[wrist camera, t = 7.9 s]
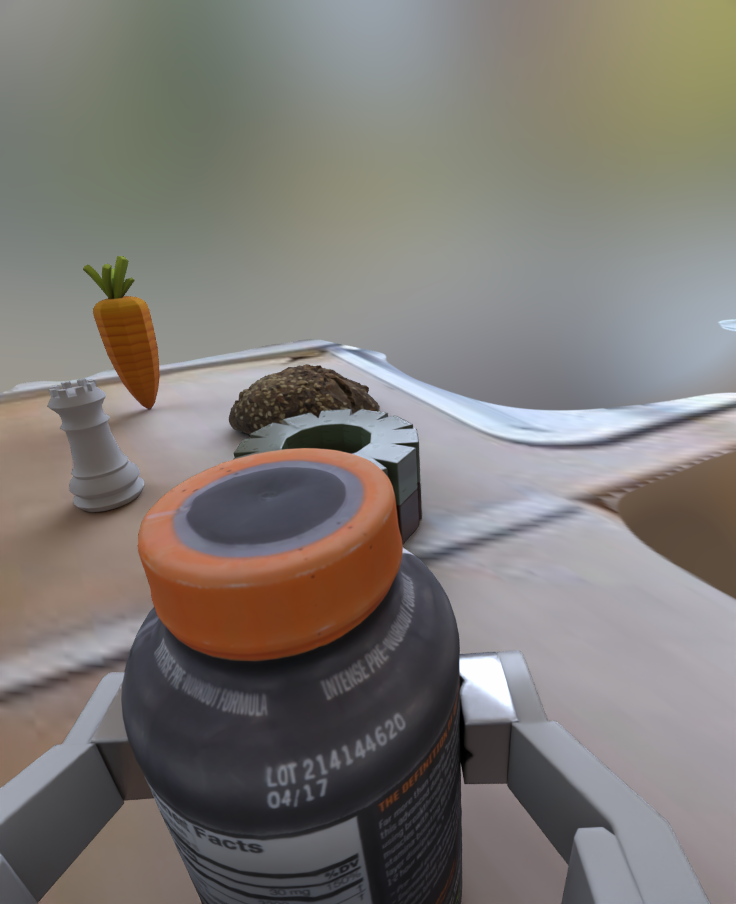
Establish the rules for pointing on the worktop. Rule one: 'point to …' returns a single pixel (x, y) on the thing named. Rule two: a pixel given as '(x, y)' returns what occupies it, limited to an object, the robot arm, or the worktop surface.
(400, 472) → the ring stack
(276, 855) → the pill bottle
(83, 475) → the rook chess piece
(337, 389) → the bread roll
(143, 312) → the carrot
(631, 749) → the worktop surface
